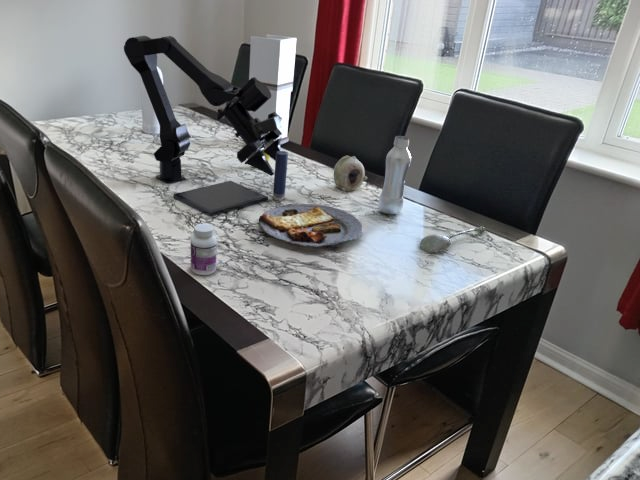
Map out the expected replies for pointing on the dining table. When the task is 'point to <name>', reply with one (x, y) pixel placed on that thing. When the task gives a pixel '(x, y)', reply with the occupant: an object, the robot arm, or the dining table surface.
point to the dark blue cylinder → (280, 175)
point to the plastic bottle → (395, 176)
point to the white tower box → (274, 75)
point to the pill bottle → (203, 250)
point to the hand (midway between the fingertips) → (279, 170)
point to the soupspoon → (442, 240)
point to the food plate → (310, 225)
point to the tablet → (220, 197)
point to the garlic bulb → (349, 173)
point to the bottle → (149, 111)
